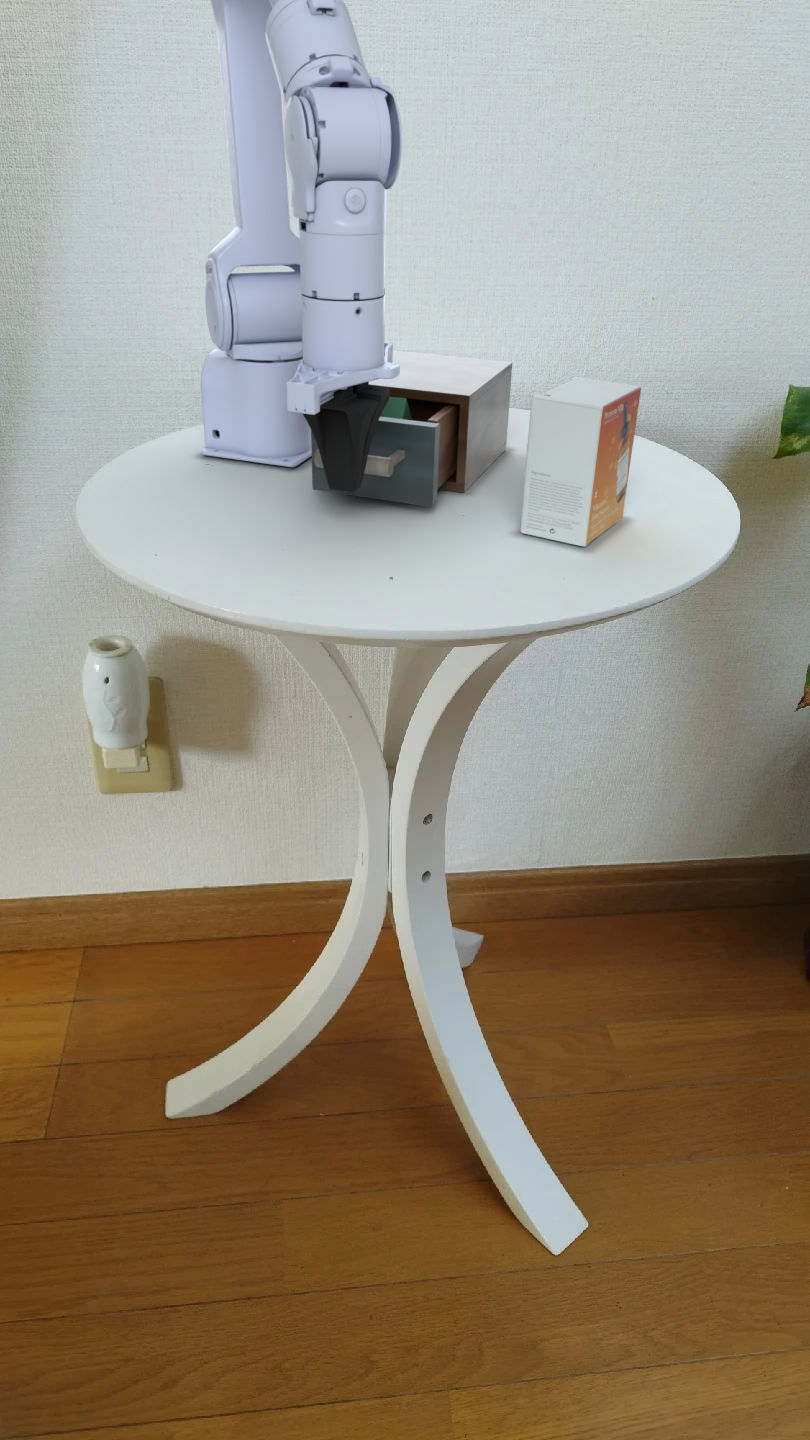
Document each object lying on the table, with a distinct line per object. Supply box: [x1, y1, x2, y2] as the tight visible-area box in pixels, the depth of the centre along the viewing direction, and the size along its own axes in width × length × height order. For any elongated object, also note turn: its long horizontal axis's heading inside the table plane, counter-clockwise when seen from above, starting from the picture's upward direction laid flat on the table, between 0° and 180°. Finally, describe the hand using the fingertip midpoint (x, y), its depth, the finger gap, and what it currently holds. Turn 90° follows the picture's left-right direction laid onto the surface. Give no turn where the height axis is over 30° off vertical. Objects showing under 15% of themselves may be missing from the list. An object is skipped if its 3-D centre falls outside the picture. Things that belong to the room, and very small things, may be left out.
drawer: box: [311, 396, 460, 508], centre depth 83 cm, size 17×10×6 cm, turn 160°
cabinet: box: [369, 349, 513, 493], centre depth 91 cm, size 14×12×8 cm
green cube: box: [380, 397, 412, 420], centre depth 84 cm, size 4×4×4 cm
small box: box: [519, 376, 642, 548], centre depth 77 cm, size 8×6×10 cm
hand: (344, 488), depth 76 cm, fingers closed
